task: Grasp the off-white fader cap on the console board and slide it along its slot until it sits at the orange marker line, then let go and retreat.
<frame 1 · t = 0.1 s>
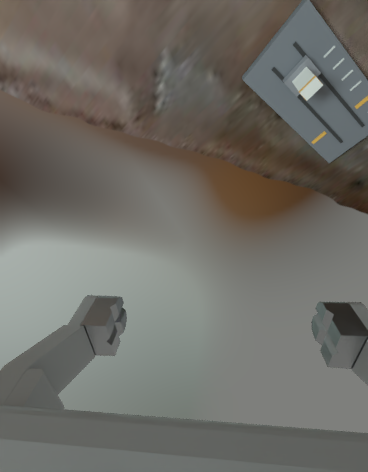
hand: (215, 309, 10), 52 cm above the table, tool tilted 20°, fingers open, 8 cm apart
console: (317, 95, 50), on the table
fader: (305, 82, 43), point 6 cm above the table, slide at -7.0 cm
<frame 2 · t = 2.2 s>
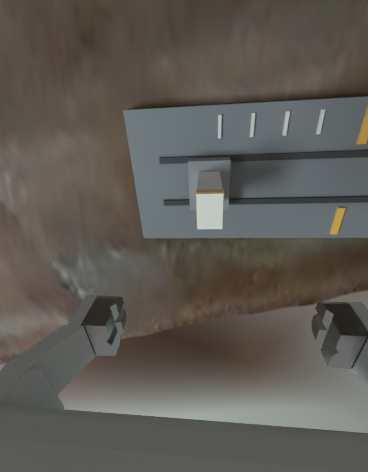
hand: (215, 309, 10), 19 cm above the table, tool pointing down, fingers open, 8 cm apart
console: (272, 173, 26), on the table
fader: (209, 194, 22), point 6 cm above the table, slide at -7.0 cm
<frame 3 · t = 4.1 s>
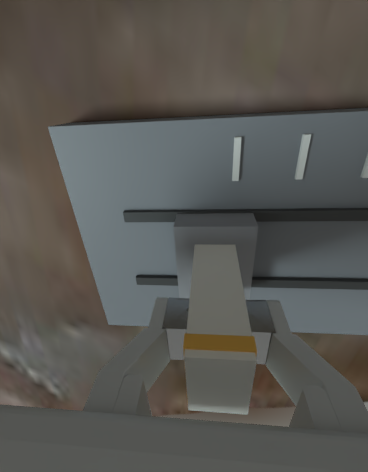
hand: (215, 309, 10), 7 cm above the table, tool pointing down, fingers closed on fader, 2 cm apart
console: (324, 233, 15), on the table
fader: (215, 299, 11), point 6 cm above the table, slide at -7.0 cm, touching gripper
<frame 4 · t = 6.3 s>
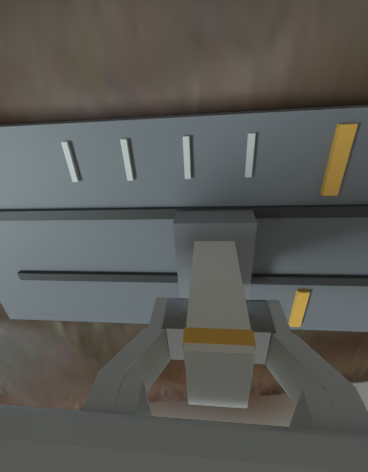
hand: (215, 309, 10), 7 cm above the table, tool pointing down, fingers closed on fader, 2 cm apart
console: (193, 230, 16), on the table
fader: (215, 295, 11), point 6 cm above the table, slide at 1.3 cm, touching gripper
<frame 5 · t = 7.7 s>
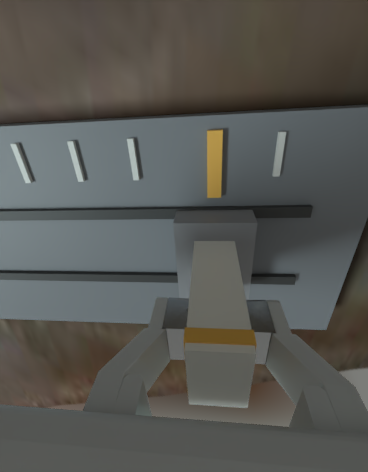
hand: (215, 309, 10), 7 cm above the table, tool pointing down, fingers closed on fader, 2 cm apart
console: (111, 230, 17), on the table
fader: (215, 295, 11), point 6 cm above the table, slide at 7.0 cm, touching gripper
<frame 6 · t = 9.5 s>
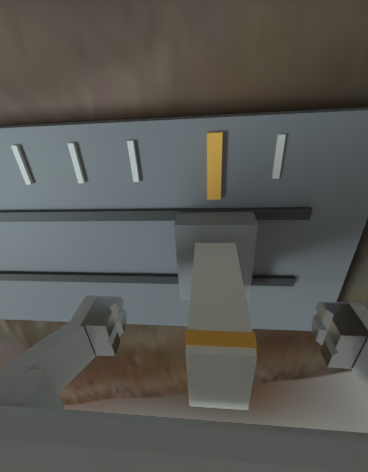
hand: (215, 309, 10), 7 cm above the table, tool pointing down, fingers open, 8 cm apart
console: (111, 232, 17), on the table
fader: (215, 297, 11), point 6 cm above the table, slide at 7.0 cm
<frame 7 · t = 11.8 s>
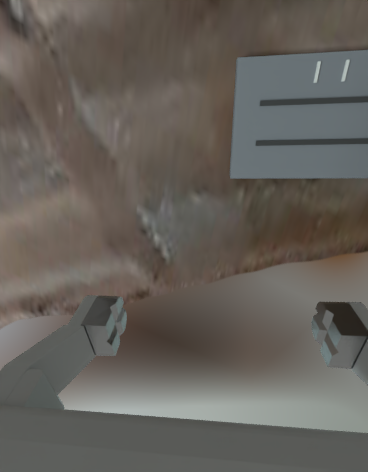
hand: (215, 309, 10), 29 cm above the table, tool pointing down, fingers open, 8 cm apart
console: (350, 120, 31), on the table
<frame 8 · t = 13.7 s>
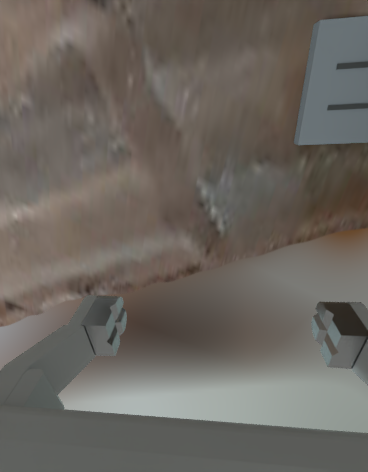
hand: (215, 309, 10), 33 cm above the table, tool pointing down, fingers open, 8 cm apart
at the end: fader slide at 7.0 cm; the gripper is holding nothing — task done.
